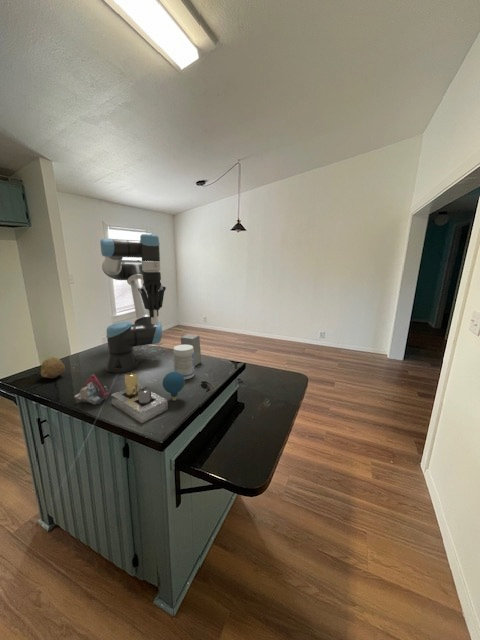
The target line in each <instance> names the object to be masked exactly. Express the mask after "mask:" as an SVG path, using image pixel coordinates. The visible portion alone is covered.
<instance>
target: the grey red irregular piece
mask: <svg viewBox="0 0 480 640" xmlns="http://www.w3.org/2000/svg"><path fill="white" fill-rule="evenodd" d="M109 395H110V392H109V389H108V387H107V386H106V385H103V386H102V384H101V382H100V381H99V379H98V378H97V377H96V375H95V374H91V375H89V378H88V379H87V380H86V381H85V383H84V387H82V388H81V389H80V391H79V393H77V394H75V395H74V397H73V398H74V399H77V400H78V401H79V400H80V401H82V403H87V402H89V403H88V404H92V405H93V404H98V405H99V403H100V404H101V403H103V402H104V401H105V400H107V399H106V398H108V397H109ZM104 399H105V400H104Z"/></svg>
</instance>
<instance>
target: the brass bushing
mask: <svg viewBox="0 0 480 640" xmlns="http://www.w3.org/2000/svg"><path fill="white" fill-rule="evenodd" d="M124 382H125V383H124V385H125V386H124V387H125V389H126V397H127V398H128V399H132V398H134V397H136V396H138V385H139V381H138V373H137V372H133V371H132V372H131V371H130V372H126V373H125V374H124Z"/></svg>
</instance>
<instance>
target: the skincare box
mask: <svg viewBox="0 0 480 640" xmlns="http://www.w3.org/2000/svg"><path fill="white" fill-rule="evenodd" d="M180 345H192V346H193V349H194V367H195V366H197V365H199V364H201V363H202V356H201V355H202V354H201V341H200V335H199V334H198V335H197V334H189V333H187V334H184V335H183V336H181V337H180Z"/></svg>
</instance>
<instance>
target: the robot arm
mask: <svg viewBox="0 0 480 640" xmlns="http://www.w3.org/2000/svg"><path fill="white" fill-rule="evenodd" d="M139 238H140V239H139V240H136V239H135V240H133V239H118V238H101V239H100V242H99V243H100V253H101V256H102V257H104V260H103V262H102V264H101V269H102V272H103V273H104V274H105V275H106V276H107V277H108V278H110V279H113V280H116V281H126V282H127V284H128V285H130V289H131V296H132V300H133V305H134V312H135V316H136V319H135V320H134V324H133V323H132V322H130V321H120V322H116V323H112V324H111V325H108V327H106V339H107V341H106V342H107V353H108V356H107V360H106V364H105V371H106V372H108V371H109V372H108V373H110V372H113V373H112V374H122V373H129V372H131V371H133V370H135V369H137V368H138V366H139V361H138V359H137V356H136V354H135V351H134V347H143V346H149V345H150V346H151V345H156V344H160V343H161V342H162V341H161V340H162V337H163V336H162V335H163V333H162V332H163V326H162V322H161V321H158V317H159V310H160V309H161V308H163V302H164V297H165V296H164V295H165V291H166V289H167V287H166V286H163V285H162V283H161V279H162V275H161V272H160V271H161V256H160V255H161V254H160V239H159V238H160V237H159V235H157V234H150V233H144V234H140V237H139ZM123 258H135V259H137V258H140V259H141V260H139V259H138V260H135V259H134V260H133V259H131V260H128V259H123Z"/></svg>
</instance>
